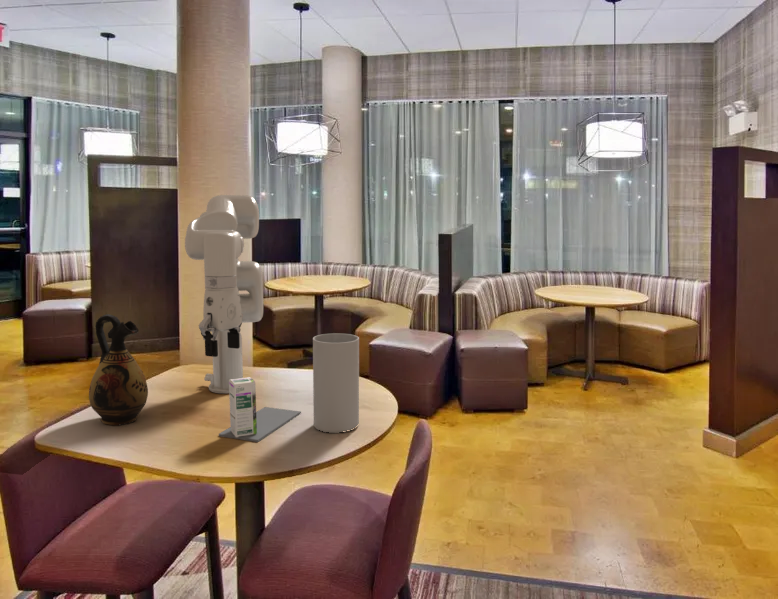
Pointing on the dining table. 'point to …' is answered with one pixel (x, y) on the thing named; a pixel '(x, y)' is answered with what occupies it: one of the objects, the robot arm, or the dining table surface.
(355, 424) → the cylinder vase
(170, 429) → the dining table surface
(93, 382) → the ceramic jug
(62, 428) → the dining table surface
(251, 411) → the syrup box
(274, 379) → the dining table surface
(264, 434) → the slate mat
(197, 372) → the dining table surface
